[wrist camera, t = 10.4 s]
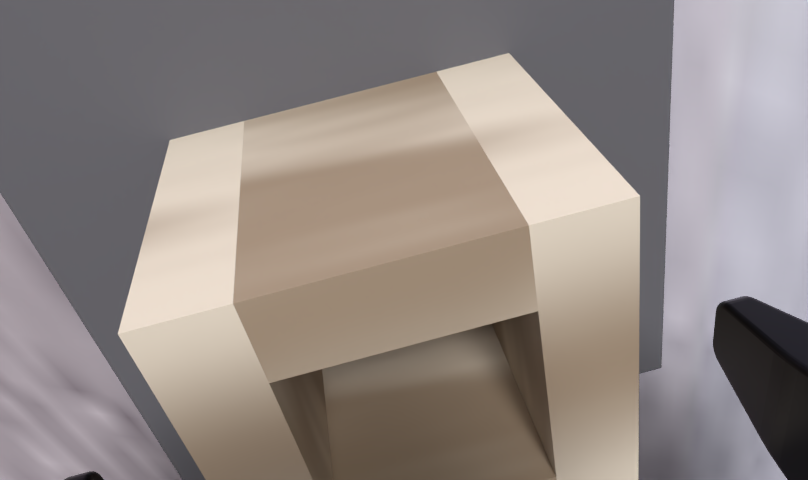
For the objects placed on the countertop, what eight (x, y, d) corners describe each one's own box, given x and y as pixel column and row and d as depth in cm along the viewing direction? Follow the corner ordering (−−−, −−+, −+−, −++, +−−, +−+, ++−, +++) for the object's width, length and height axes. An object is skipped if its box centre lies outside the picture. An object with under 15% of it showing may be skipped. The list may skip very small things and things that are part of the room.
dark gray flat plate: (653, 356, 17) (661, 367, 17) (193, 481, 17) (192, 495, 17) (667, -190, 10) (680, -189, 10) (-105, 0, 10) (-118, 7, 10)
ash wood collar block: (536, 309, 15) (637, 503, 11) (275, 379, 15) (280, 602, 11) (508, 53, 12) (639, 196, 8) (169, 140, 12) (118, 334, 7)
